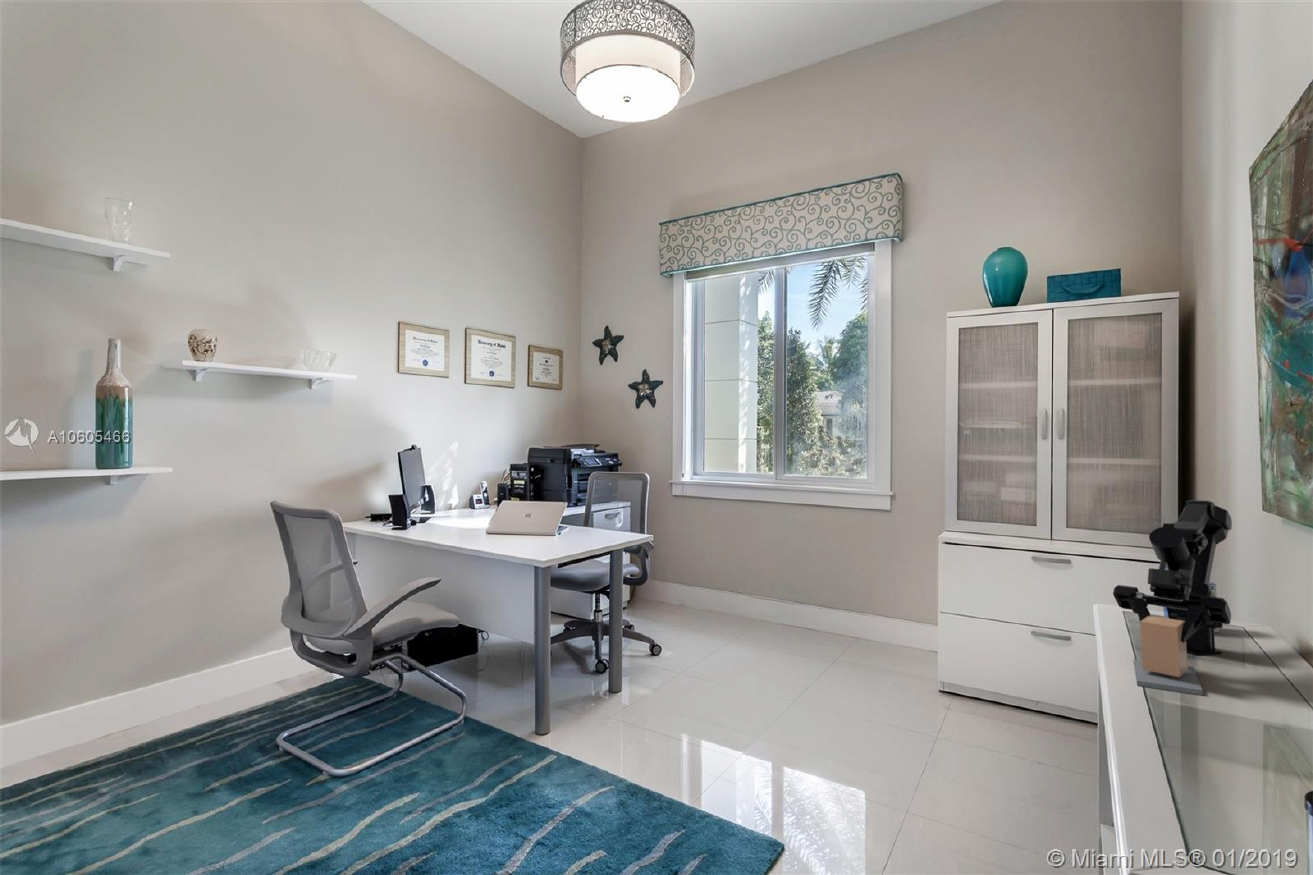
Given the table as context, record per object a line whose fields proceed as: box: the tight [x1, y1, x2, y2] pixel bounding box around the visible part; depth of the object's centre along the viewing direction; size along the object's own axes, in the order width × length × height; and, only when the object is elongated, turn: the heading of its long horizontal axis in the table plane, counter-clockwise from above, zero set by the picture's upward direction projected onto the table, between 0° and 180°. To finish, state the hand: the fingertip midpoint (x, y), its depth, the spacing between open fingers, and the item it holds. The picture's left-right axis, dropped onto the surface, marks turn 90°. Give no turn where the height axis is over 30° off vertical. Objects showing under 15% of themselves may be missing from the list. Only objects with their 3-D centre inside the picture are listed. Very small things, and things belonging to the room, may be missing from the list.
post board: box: [1133, 658, 1203, 696], centre depth 128 cm, size 14×10×4 cm
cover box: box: [1139, 615, 1188, 677], centre depth 128 cm, size 6×6×10 cm
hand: (1162, 638), depth 128 cm, fingers closed on cover box, 6 cm apart
